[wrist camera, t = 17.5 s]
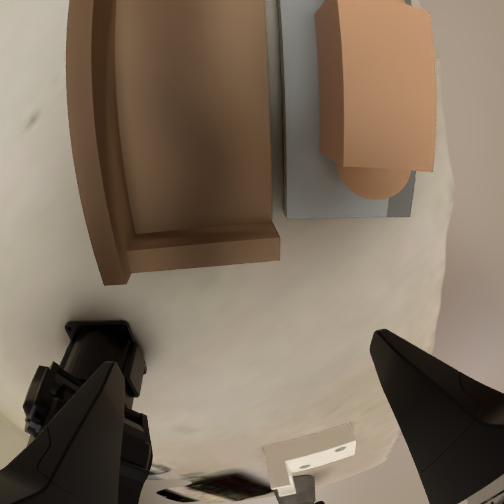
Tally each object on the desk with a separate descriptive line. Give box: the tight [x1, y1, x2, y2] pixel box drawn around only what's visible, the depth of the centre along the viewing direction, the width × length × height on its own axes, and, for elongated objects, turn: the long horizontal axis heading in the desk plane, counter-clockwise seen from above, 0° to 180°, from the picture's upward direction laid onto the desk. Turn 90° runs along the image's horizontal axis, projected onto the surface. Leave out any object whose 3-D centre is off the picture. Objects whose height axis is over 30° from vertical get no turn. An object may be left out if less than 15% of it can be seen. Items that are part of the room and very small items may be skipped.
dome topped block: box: [315, 0, 437, 200], centre depth 12 cm, size 5×13×4 cm, turn 2°
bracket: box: [264, 423, 356, 497], centre depth 34 cm, size 13×7×8 cm, turn 105°
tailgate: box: [277, 0, 416, 220], centre depth 15 cm, size 1×18×9 cm
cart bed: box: [66, 0, 280, 286], centre depth 12 cm, size 8×18×7 cm, turn 2°
